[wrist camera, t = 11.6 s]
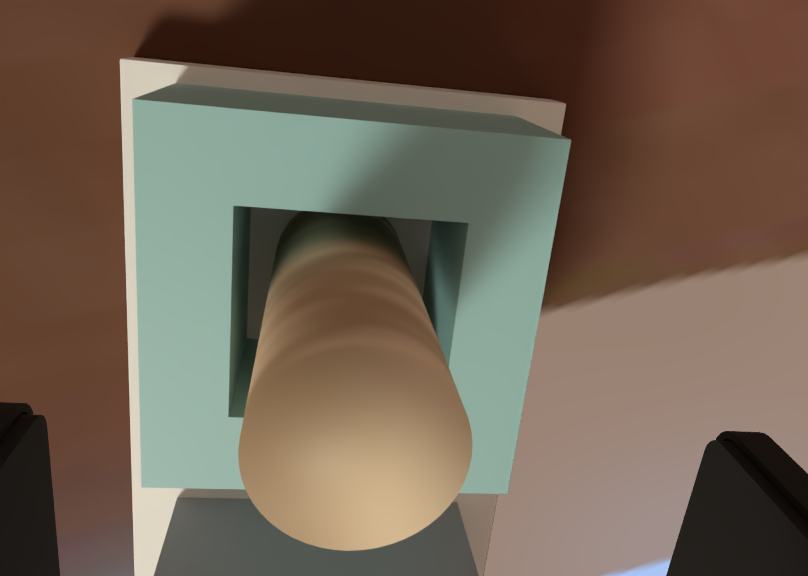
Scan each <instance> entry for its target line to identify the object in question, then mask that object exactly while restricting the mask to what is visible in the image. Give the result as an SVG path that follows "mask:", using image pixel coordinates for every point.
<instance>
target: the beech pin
mask: <svg viewBox="0 0 808 576" xmlns="http://www.w3.org/2000/svg"><path fill="white" fill-rule="evenodd" d="M472 446H473V444H472V431H471V427H470V422H469V419H468V416H467V413H466V411H465V408H464V406H463V403H462V401H461V398H460V395H459V393H458V390H457V388H456V385H455V382H454V380H453V377H452V375H451V372H450V370H449V367H448V364H447V362H446V359H445V357H444V354H443V351H442V349H441V346H440V344H439V341H438V339H437V336H436V333H435V331H434V328H433V326H432V323H431V321H430V318H429V315H428V313H427V310H426V308H425V305H424V302H423V300H422V297H421V295H420V292H419V290H418V287H417V284H416V282H415V279H414V277H413V274H412V272H411V269H410V266H409V264H408V261H407V259H406V256H405V253H404V251H403V248H402V246H401V243H400V241H399V238H398V235H397V233H396V231H395V230H394V228H393V226H392V225H391V224H390V222H389V221H388V220H387V219H386V218H385V217H381V216H368V215H354V214H341V213H327V212H314V211H300V212H299V213H298V214H296V215H295V216H294V217H293V218H292V219H291V220H290V222H289V223H288V224H287V226H286V227H285V229H284V230H283V232H282V234H281V236H280V239H279V242H278V245H277V249H276V255H275V260H274V265H273V270H272V275H271V280H270V285H269V290H268V296H267V301H266V306H265V311H264V316H263V321H262V326H261V331H260V337H259V342H258V347H257V352H256V357H255V362H254V367H253V372H252V378H251V383H250V388H249V393H248V398H247V403H246V408H245V413H244V419H243V424H242V429H241V434H240V439H239V449H238V460H239V469H240V474H241V479H242V481H243V484H244V487H245V490H246V492H247V494H248V495H249V497H250V499H251V501H252V503H253V504H254V505H255V507H256V508H257V509H258V511H259V512H260V513H261V514H262V515H263V516H264V517H265V518H266V519H267V520H268V521H269V522H270V523H271V524H272V525H274V526H275V527H276V528H278V529H279V530H280V531H282V532H284V533H285V534H287V535H289V536H291V537H292V538H294V539H297V540H299V541H302V542H304V543H306V544H310V545H313V546H317V547H320V548H326V549H332V550H344V551H354V550H367V549H373V548H379V547H383V546H386V545H390V544H393V543H396V542H398V541H401V540H404V539H406V538H408V537H410V536H412V535H414V534H416V533H418V532H419V531H421V530H422V529H424V528H425V527H427V526H428V525H430V524H431V523H432V522H433V521H434V520H436V519H437V518H438V517H439V516H440V515H441V514H442V513H443V512H444V511H445V510H446V509H447V508H448V507H449V506H450V504H451V503H452V502H453V500H454V499H455V498H456V496H457V495H458V493H459V491H460V489H461V487H462V486H463V484H464V482H465V479H466V476H467V474H468V471H469V467H470V463H471V458H472Z"/></svg>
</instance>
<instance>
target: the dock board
mask: <svg viewBox="0 0 808 576" xmlns="http://www.w3.org/2000/svg"><path fill="white" fill-rule="evenodd" d="M120 81H121V116H122V151H123V186H124V221H125V256H126V291H127V325H128V360H129V395H130V430H131V465H132V500H133V534H134V569H135V576H484V570H485V564H486V559H487V553H488V547H489V541H490V536H491V530H492V525H493V518H494V513H495V508H496V502H497V496H498V494H507V493H508V488H509V482H510V477H511V471H512V466H513V460H514V455H515V449H516V444H517V438H518V433H519V426H520V421H521V416H522V410H523V405H524V399H525V393H526V388H527V383H528V377H529V372H530V366H531V361H532V355H533V350H534V344H535V339H536V333H537V326H538V322H539V316H540V311H541V305H542V300H543V294H544V289H545V283H546V278H547V272H548V267H549V261H550V255H551V250H552V244H553V239H554V233H555V228H556V222H557V217H558V211H559V206H560V200H561V195H562V189H563V184H564V178H565V172H566V167H567V161H568V156H569V150H570V145H571V140H570V139H568V138H566V137H564V136H561V131H562V126H563V120H564V114H565V109H566V104H565V103H562V102H559V101H555V100H552V99H543V98H533V97H524V96H514V95H504V94H494V93H484V92H474V91H464V90H454V89H444V88H435V87H425V86H415V85H405V84H395V83H385V82H375V81H365V80H355V79H346V78H336V77H326V76H316V75H306V74H296V73H286V72H276V71H266V70H257V69H247V68H237V67H227V66H217V65H207V64H197V63H187V62H177V61H167V60H158V59H148V58H138V57H130V58H123V59H120ZM300 211H314V212H327V213H341V214H354V215H368V216H381V217H385V218H386V219H387V220H388V221H389V222H390V224H391V225H392V226H393V228H394V230H395V231H396V233H397V235H398V238H399V241H400V243H401V246H402V248H403V251H404V253H405V256H406V259H407V261H408V264H409V266H410V269H411V272H412V274H413V277H414V279H415V282H416V284H417V287H418V290H419V292H420V295H421V297H422V300H423V302H424V305H425V308H426V310H427V313H428V315H429V318H430V321H431V323H432V326H433V328H434V331H435V333H436V336H437V339H438V341H439V344H440V346H441V349H442V351H443V354H444V357H445V359H446V362H447V364H448V367H449V370H450V372H451V375H452V377H453V380H454V382H455V385H456V388H457V390H458V393H459V395H460V398H461V401H462V403H463V406H464V408H465V411H466V413H467V416H468V419H469V422H470V427H471V431H472V444H473V446H472V458H471V463H470V467H469V471H468V474H467V476H466V479H465V482H464V484H463V486H462V487H461V489H460V491H459V493H458V495H457V496H456V498H455V499H454V500H453V502H452V503H451V504H450V506H449V507H448V508H447V509H446V510H445V511H444V512H443V513H442V514H441V515H440V516H439V517H438V518H437V519H436V520H434V521H433V522H432V523H431V524H430V525H428V526H427V527H425V528H424V529H422V530H421V531H419V532H418V533H416V534H414V535H412V536H410V537H408V538H406V539H404V540H401V541H398V542H396V543H393V544H390V545H386V546H383V547H379V548H373V549H367V550H354V551H344V550H332V549H326V548H320V547H317V546H313V545H310V544H306V543H304V542H302V541H299V540H297V539H294V538H292V537H291V536H289V535H287V534H285V533H284V532H282V531H280V530H279V529H278V528H276V527H275V526H274V525H272V524H271V523H270V522H269V521H268V520H267V519H266V518H265V517H264V516H263V515H262V514H261V513H260V512H259V511H258V509H257V508H256V507H255V505H254V504H253V503H252V501H251V499H250V497H249V495H248V494H247V492H246V490H245V487H244V484H243V481H242V479H241V474H240V469H239V460H238V449H239V439H240V434H241V429H242V424H243V419H244V413H245V408H246V403H247V398H248V393H249V388H250V383H251V378H252V372H253V367H254V362H255V357H256V352H257V347H258V342H259V337H260V331H261V326H262V321H263V316H264V311H265V306H266V301H267V296H268V290H269V285H270V280H271V275H272V270H273V265H274V260H275V255H276V249H277V245H278V242H279V239H280V236H281V234H282V232H283V230H284V229H285V227H286V226H287V224H288V223H289V222H290V220H291V219H292V218H293V217H294V216H295V215H296V214H298V213H299V212H300Z"/></svg>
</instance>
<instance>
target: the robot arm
mask: <svg viewBox="0 0 808 576" xmlns="http://www.w3.org/2000/svg"><path fill="white" fill-rule="evenodd" d="M0 576H60V570H59V558H58V547H57V535H56V524H55V512H54V501H53V489H52V478H51V466H50V455H49V443H48V432H47V423H46V420H45V417H44V416H42V415H33V411H32V409H31V407H30V405H28V404H27V403H3V402H0ZM666 576H808V474H807V473H806V472H805V471H804V470H803V469H802V468H801V467H800V466H799V465H798V464H797V463H796V462H795V461H794V460H793V459H792V458H791V457H790V456H789V455H788V454H787V453H786V452H785V451H784V450H783V449H782V448H780V446H779V445H777V444H776V443H775V442H774V441H773V440H772V439H771V438H770V437H769V436H768V435H766V434H764V433H760V432H737V431H725V432H722V433H721V434H720V435H719V436H718V437H717V438H716V440H713V441H711V442H709V444H707V446H706V449H705V451H704V454H703V457H702V461H701V464H700V467H699V471H698V474H697V478H696V480H695V484H694V487H693V491H692V493H691V497H690V500H689V503H688V507H687V510H686V513H685V516H684V520H683V524H682V526H681V529H680V533H679V536H678V539H677V542H676V546H675V549H674V552H673V556H672V559H671V562H670V565H669V569H668V572H667V575H666Z"/></svg>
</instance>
